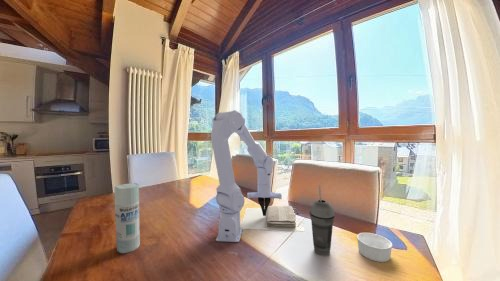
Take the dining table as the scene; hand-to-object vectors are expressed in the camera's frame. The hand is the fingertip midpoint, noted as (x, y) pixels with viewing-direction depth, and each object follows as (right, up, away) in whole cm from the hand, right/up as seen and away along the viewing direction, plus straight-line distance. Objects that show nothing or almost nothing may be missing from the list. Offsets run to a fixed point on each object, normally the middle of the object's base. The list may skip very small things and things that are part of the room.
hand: (264, 214), depth 82 cm
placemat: (+3, -1, 0) cm, 3 cm away
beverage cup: (+16, -2, -24) cm, 28 cm away
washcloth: (+7, -2, -1) cm, 7 cm away
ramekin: (+31, -2, -25) cm, 40 cm away
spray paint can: (-45, -3, -21) cm, 50 cm away
